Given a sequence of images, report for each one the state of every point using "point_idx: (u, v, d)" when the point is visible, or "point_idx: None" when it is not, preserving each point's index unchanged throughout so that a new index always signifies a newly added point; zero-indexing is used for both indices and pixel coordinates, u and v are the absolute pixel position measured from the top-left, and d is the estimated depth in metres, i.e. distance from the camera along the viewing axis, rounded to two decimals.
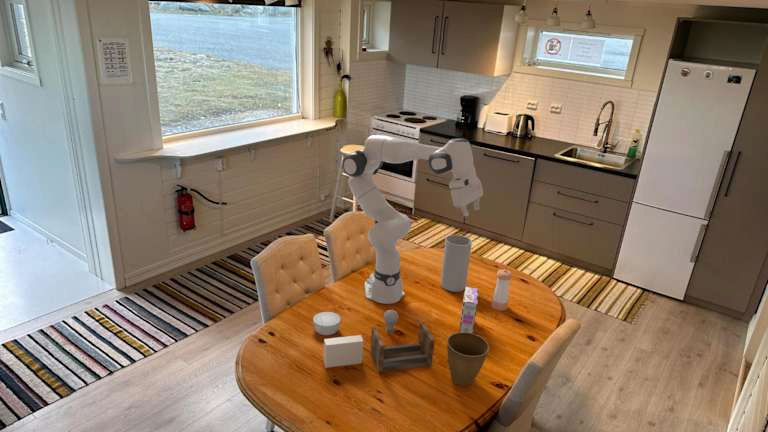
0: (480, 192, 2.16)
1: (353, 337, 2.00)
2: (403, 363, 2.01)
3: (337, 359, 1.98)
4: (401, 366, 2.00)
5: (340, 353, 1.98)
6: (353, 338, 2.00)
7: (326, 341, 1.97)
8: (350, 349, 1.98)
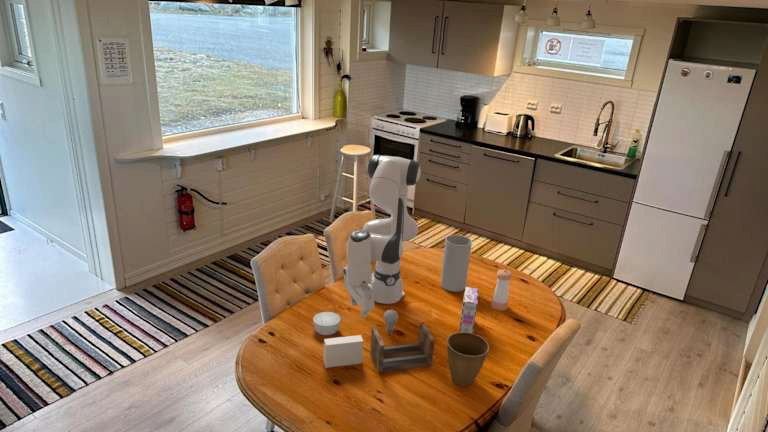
0: (362, 305, 1.84)
1: (353, 337, 2.00)
2: (403, 363, 2.01)
3: (337, 359, 1.98)
4: (401, 366, 2.00)
5: (340, 353, 1.98)
6: (353, 338, 2.00)
7: (326, 341, 1.97)
8: (350, 349, 1.98)
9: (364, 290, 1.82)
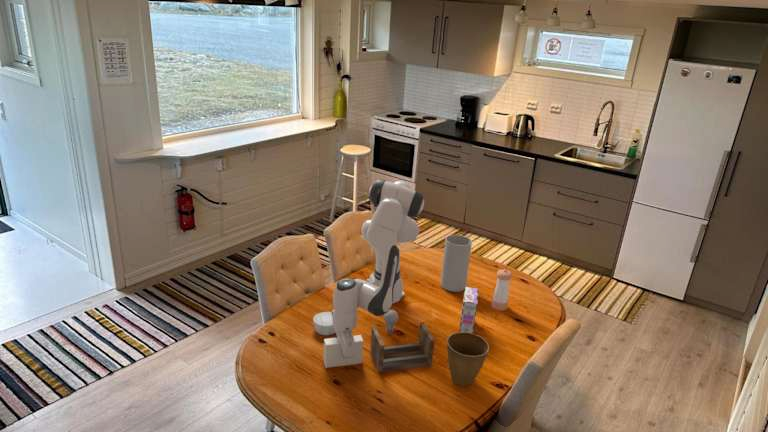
0: (343, 350, 1.91)
1: None
2: (403, 363, 2.01)
3: (337, 359, 1.98)
4: (401, 366, 2.00)
5: (340, 353, 1.98)
6: None
7: (326, 341, 1.97)
8: None
9: (345, 337, 1.89)
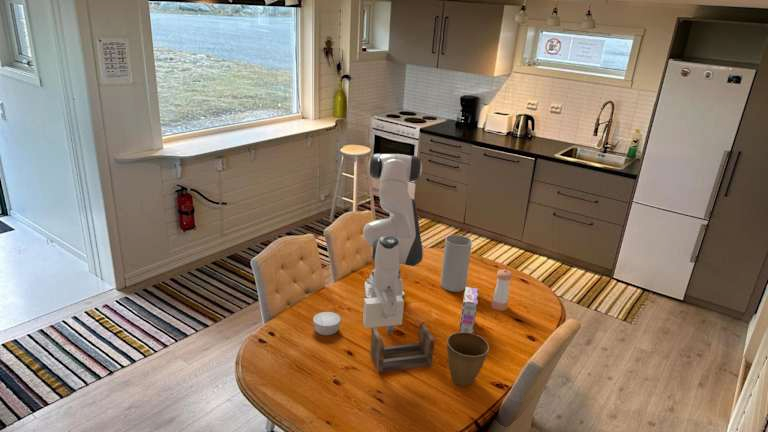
0: (384, 309, 1.88)
1: None
2: (403, 363, 2.01)
3: (377, 319, 1.95)
4: (401, 366, 2.00)
5: (380, 313, 1.94)
6: None
7: (366, 300, 1.94)
8: None
9: (388, 295, 1.86)
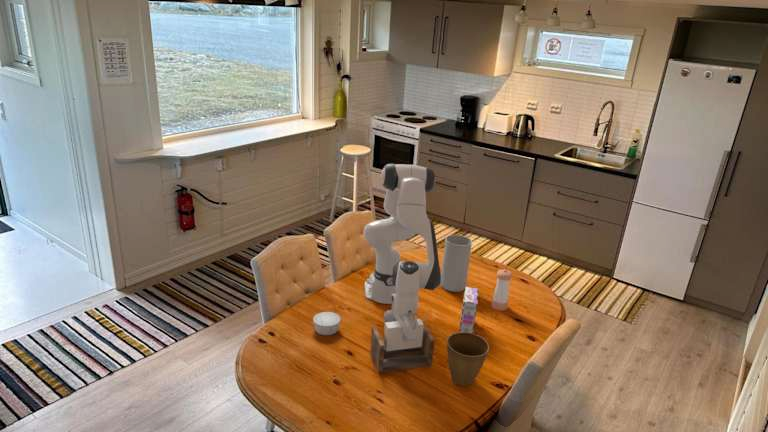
0: (406, 333, 1.92)
1: None
2: (403, 363, 2.01)
3: (398, 342, 1.99)
4: (401, 366, 2.00)
5: (401, 336, 1.99)
6: None
7: (387, 324, 1.98)
8: None
9: (409, 320, 1.90)
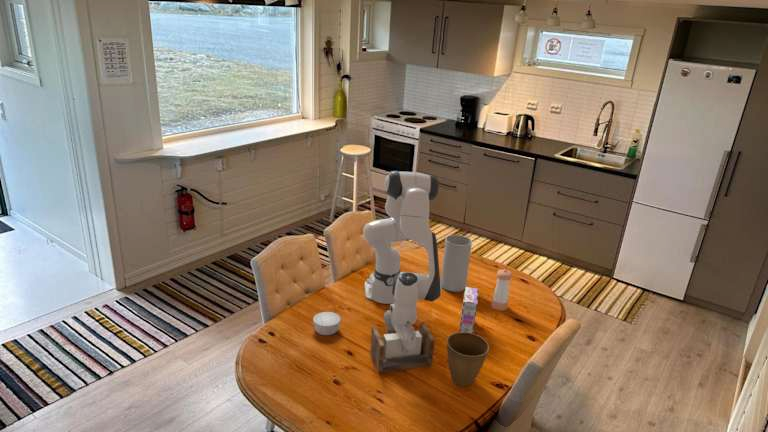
0: (404, 343, 1.94)
1: None
2: (403, 363, 2.01)
3: (396, 354, 2.02)
4: (401, 366, 2.00)
5: (399, 348, 2.01)
6: None
7: (386, 336, 2.00)
8: None
9: (407, 330, 1.92)
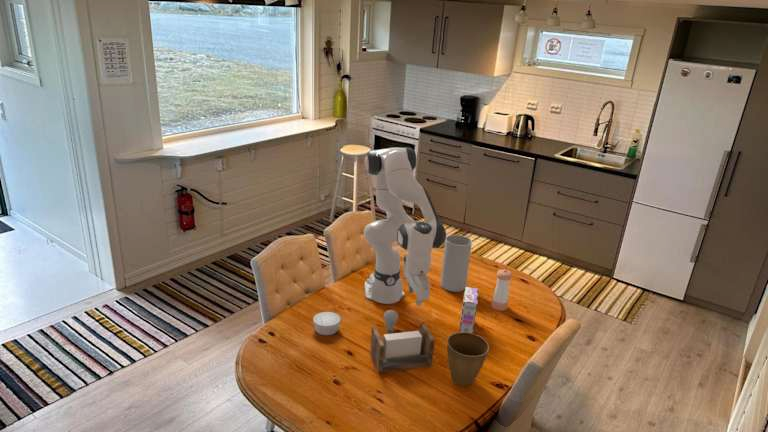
0: (417, 293, 1.92)
1: (411, 333, 2.04)
2: (403, 363, 2.01)
3: (396, 354, 2.02)
4: (401, 366, 2.00)
5: (399, 348, 2.01)
6: (412, 333, 2.03)
7: (386, 336, 2.00)
8: (409, 344, 2.02)
9: (421, 280, 1.90)
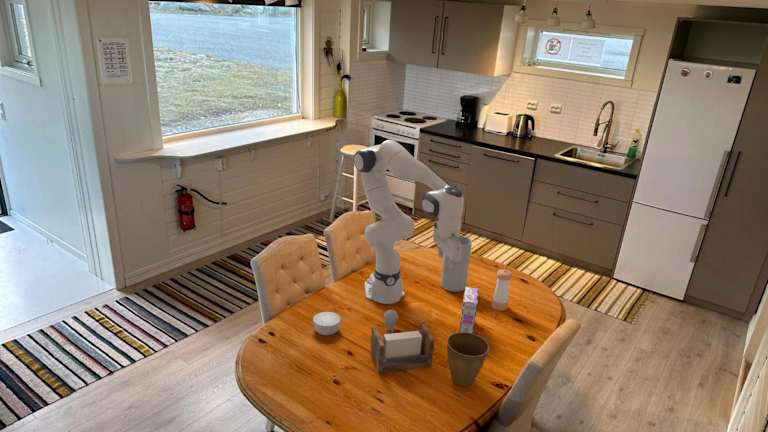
0: (449, 255, 2.01)
1: (411, 333, 2.04)
2: (403, 363, 2.01)
3: (396, 354, 2.02)
4: (401, 366, 2.00)
5: (399, 348, 2.01)
6: (412, 333, 2.03)
7: (386, 336, 2.00)
8: (409, 344, 2.02)
9: (453, 241, 1.99)
